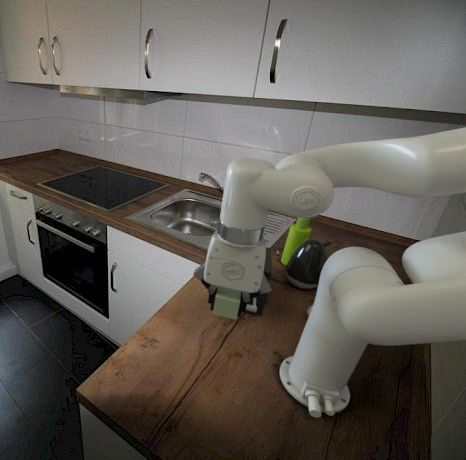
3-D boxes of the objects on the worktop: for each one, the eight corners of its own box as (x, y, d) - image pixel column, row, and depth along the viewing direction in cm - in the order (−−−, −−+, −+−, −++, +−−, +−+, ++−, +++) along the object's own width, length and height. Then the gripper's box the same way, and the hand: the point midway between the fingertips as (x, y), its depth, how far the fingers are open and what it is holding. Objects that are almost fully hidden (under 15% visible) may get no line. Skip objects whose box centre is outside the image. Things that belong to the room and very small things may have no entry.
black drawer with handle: (261, 328, 77) (268, 304, 74) (216, 316, 81) (221, 293, 77) (262, 287, 92) (268, 265, 88) (223, 279, 95) (228, 257, 92)
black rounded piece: (328, 292, 91) (346, 247, 84) (296, 296, 90) (312, 250, 83) (305, 272, 100) (319, 230, 93) (275, 275, 99) (287, 232, 92)
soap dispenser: (291, 270, 101) (309, 214, 92) (276, 258, 107) (292, 205, 98) (306, 267, 102) (325, 212, 93) (291, 256, 108) (307, 203, 99)
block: (236, 320, 62) (240, 302, 59) (212, 314, 63) (215, 296, 61) (238, 305, 65) (241, 288, 63) (215, 300, 67) (218, 283, 65)
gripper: (188, 231, 55) (180, 310, 64) (295, 249, 50) (271, 333, 58) (196, 214, 62) (188, 289, 70) (291, 228, 56) (270, 307, 64)
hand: (225, 308), depth 64 cm, fingers closed on block, 4 cm apart
